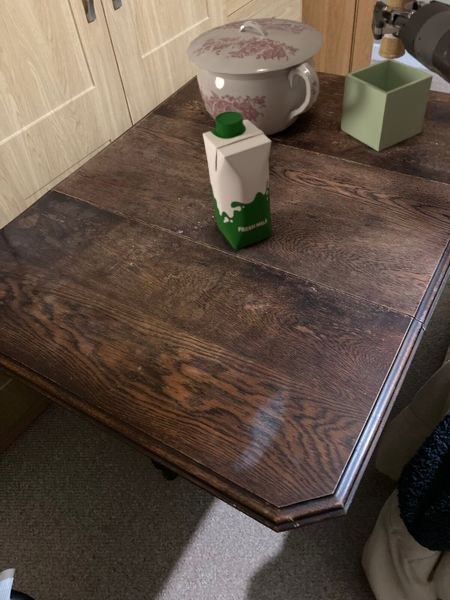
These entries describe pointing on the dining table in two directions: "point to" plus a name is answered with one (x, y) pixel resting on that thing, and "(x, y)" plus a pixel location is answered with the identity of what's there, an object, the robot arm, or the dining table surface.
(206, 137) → the milk carton
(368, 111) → the bin
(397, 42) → the sprinkles bottle
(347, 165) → the dining table surface
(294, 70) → the chamber pot
